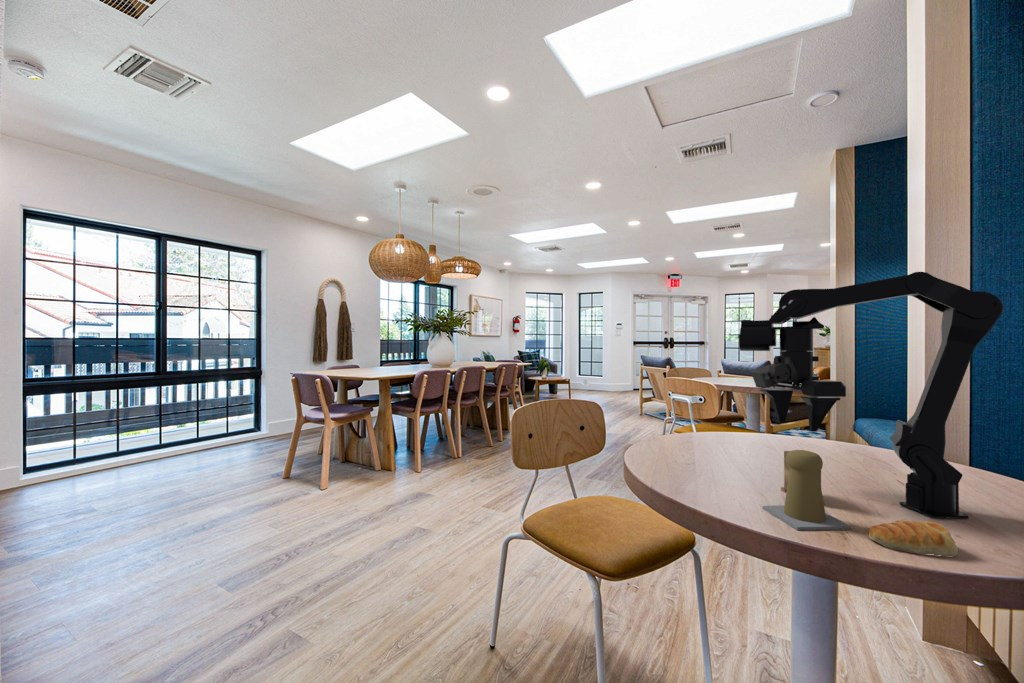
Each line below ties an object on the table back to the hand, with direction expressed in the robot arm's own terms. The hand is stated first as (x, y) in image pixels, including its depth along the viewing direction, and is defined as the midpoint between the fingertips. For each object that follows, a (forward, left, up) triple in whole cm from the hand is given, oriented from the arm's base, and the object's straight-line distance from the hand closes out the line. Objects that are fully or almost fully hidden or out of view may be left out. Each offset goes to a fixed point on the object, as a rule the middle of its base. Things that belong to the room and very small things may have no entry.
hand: (796, 426), depth 86 cm
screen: (+2, +4, -13) cm, 14 cm away
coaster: (+9, +14, -13) cm, 21 cm away
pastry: (0, +24, -14) cm, 28 cm away
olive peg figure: (+9, +14, -13) cm, 21 cm away
